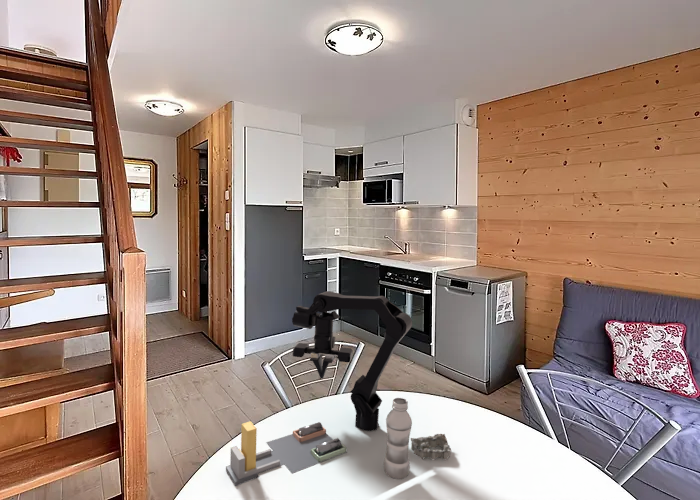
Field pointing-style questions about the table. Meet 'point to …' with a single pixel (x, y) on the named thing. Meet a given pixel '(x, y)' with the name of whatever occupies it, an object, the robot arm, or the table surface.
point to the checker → (282, 455)
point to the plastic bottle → (398, 440)
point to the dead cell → (310, 429)
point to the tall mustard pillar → (249, 444)
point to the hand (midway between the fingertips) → (321, 377)
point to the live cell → (328, 447)
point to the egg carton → (432, 442)
